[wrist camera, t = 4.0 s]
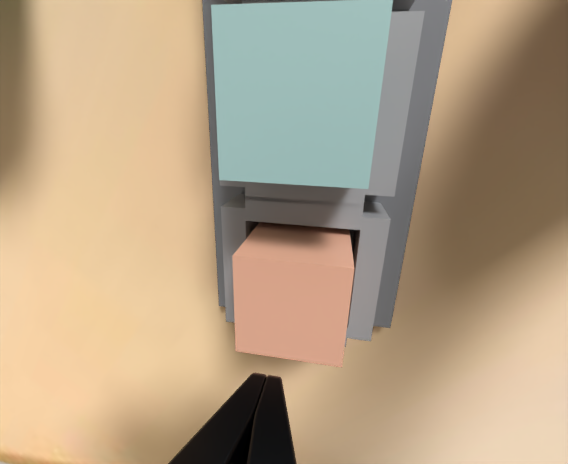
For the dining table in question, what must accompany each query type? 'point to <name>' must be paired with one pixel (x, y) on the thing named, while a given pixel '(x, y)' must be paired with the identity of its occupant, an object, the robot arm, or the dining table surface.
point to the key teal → (299, 90)
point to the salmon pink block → (293, 292)
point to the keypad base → (348, 201)
